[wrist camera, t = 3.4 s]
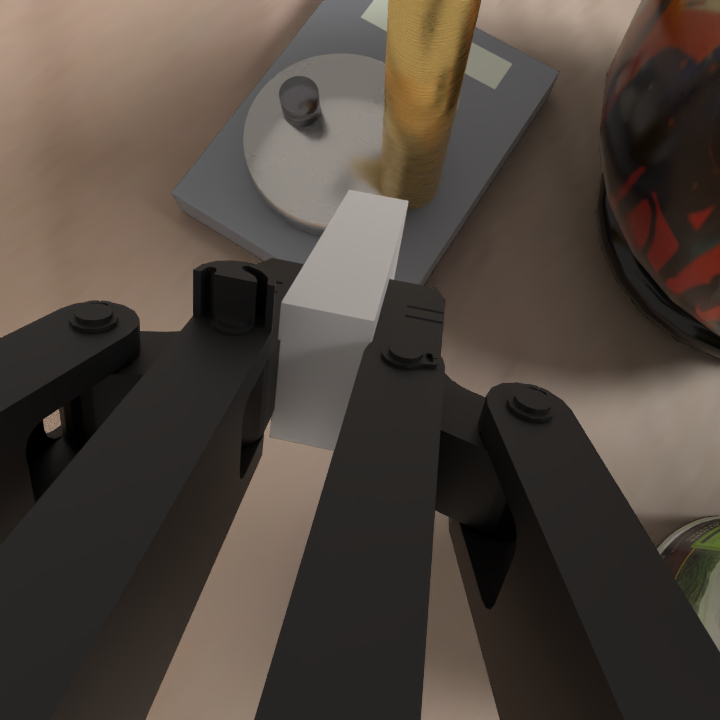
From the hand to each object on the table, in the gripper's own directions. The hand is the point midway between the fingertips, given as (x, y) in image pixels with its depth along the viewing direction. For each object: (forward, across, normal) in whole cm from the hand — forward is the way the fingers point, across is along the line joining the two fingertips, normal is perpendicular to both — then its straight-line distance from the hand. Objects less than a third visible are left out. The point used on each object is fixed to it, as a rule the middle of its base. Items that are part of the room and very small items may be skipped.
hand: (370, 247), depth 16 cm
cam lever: (+19, +3, +3) cm, 20 cm away
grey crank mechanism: (+22, +3, +3) cm, 23 cm away
